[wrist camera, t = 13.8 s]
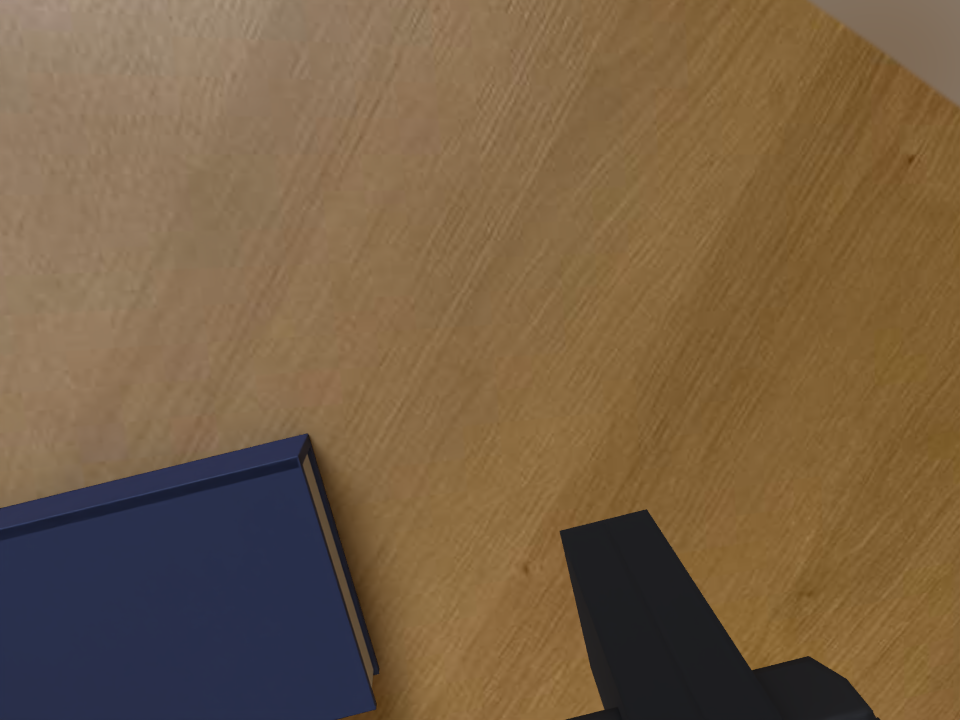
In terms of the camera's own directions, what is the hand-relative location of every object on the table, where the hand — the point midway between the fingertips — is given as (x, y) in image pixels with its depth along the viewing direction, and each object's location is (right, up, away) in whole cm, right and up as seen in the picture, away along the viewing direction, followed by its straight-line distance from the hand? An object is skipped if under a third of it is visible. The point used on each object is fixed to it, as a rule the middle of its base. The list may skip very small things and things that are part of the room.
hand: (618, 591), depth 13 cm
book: (-21, -8, +23) cm, 32 cm away
